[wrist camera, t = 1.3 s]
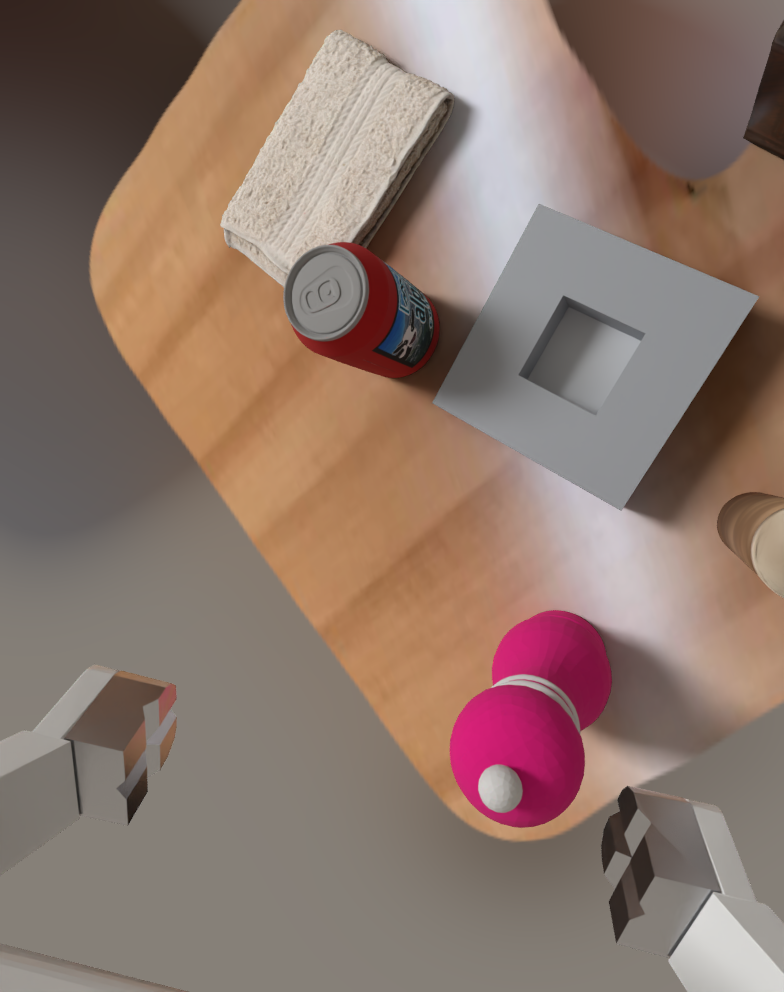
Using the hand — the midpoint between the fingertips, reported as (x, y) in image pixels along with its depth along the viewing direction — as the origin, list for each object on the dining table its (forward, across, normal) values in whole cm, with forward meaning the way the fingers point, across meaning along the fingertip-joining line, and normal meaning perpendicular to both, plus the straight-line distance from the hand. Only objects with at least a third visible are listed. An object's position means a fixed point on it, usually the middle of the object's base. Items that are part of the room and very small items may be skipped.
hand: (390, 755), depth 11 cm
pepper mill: (+27, -11, +18) cm, 34 cm away
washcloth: (+45, +12, -8) cm, 47 cm away
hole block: (+34, -8, 0) cm, 35 cm away
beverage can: (+39, +5, +1) cm, 39 cm away
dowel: (+28, -20, +6) cm, 35 cm away
